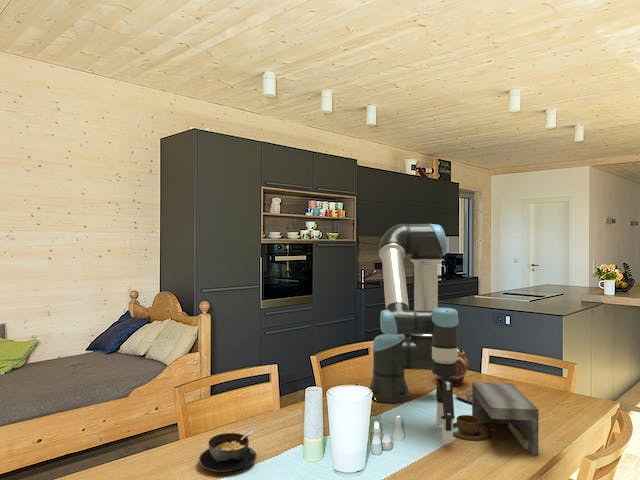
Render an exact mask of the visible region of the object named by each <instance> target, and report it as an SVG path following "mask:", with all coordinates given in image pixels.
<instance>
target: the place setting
mask: <svg viewBox="0 0 640 480" xmlns="http://www.w3.org/2000/svg"><path fill="white" fill-rule="evenodd" d="M436 425H437V426H440V424H437V423H436ZM455 429H458V430H459V431H460V432H461V433H462V434H460V433H457V432H455V431H453V437H455V438H458V439H461V440H466V441H467V440H468V441H481V440H485V439H487V438H488V437H489V435H490V433H491V434H493V435H494V438H495V439H498V437H497V430H496V429H494V428H491V429H490V430H489V429H488V428H487V427H486V426H483V424H481V420H480V419H479V418H478V417H475V416H472V414H471V415H470V414H462V415H458V416H457V417H456V422H453V430H455ZM479 431H481V432H483V433H484V435H478V436H475V435H476V433H478V432H479Z"/></svg>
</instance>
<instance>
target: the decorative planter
mask: <svg viewBox="0 0 640 480" xmlns="http://www.w3.org/2000/svg"><path fill="white" fill-rule="evenodd" d="M458 350H460V353H457V354H458V360H457V361H456V362H457V363H458V374H457V375H456V376H451V377H450V379H451V382H452V384H453V387H458V386H461V385H462V384H464V383H463V382H464V379H465V376H466V374H467V371H468V369H469V366H470V365H469V361H468V359H467V357H466V353H465V351H464V350H463V348H462V349H461V348H458ZM437 379H438V375H436V380H437Z"/></svg>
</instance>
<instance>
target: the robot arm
mask: <svg viewBox="0 0 640 480" xmlns="http://www.w3.org/2000/svg"><path fill="white" fill-rule="evenodd" d="M447 245H448V244H447V237H446V233H445V230H444V228H443V227H442V226H441V225H440V224H433V223H415V224H414V223H399V224H395V225H394V226H392V227H391V228H389V229H388V230H387V231H385V233H384V234H383V236H382V237H381V239H380V241H379V245H378V257H379V258H380V260H381V263H382V265H381V266H382V276H383V289H384V303H385V309H383V310H381V311H380V319H379V321H380V323H379V324H380V331H381V332H382V333H383V334H380V335H379V334H378V335H377V336H375V338H374V339H373V343H372V344H373V345H372V352H373V353H372V356H373V357H372V366H373V367H372V378H371V381H370V383H369V386H368V389H369V388H371V389H372V392H373V397H375V398H376V400H377V401H376V402H378V403H383V404H398V403H403V402H407V401H408V400H410V391H409V388H408V384H407V381H406V378H405V370H412V371H414V370H417V371H418V370H420V371H431V373H432V374H433V375H435V376H437V375H438V379H437V378H436V392H435V393H436V394H435V397H436V401H437V402H436V425H437V424H439V425H442V442H450V443H453V442H454V436H453V432H454V429H453V423H454V420H455V417H456V416H455V409H454V408H455V407H454V394H453V393H454V392H453V390H454V389H453V387H454V386H453V384H452V382H451V379H450V377H451V376H456V375H457V374H458V363H457V362H456V361H457V360H458V354H457V353H460V350H458V349H459V321H460V320H459V316H458V315H459V313H458V310H457V309H455V308H451V307H439V305H438V302H439V301H438V300H439V299H438V297H439V296H438V295H439V294H438V291H439V290H438V286H439V278H438V277H439V276H438V275H439V273H438V270H439V269H438V265H439V263H441V262H442V260H443V257H444V256H445V255H446V254H447V253H448V252H447V247H448V246H447ZM406 256H409V257H410V258H409V261H410V262H412V263H413V266H414V267H413V268H414V272H413V273H414V283H413V284H414V285H413V286H414V288H413V293H414V295H413V297H414V298H413V299H414V301H413V304H414V305H413V308H414V310H413V309H412V310H411V309H410V308H409V298H408V297H409V296H408V289H407V288H408V287H407V280H406V273H405V264H404V262H405V261H404V258H405V257H406ZM406 335H409V337H406Z"/></svg>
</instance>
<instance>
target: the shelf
mask: <svg viewBox="0 0 640 480" xmlns="http://www.w3.org/2000/svg"><path fill="white" fill-rule="evenodd" d="M471 385H472V387H471V389H472V404H471V407H472V408H471V416H475V417H478V418H479V419H480V420H481V423H485V424H507V425H508V429H509V431H510V432H511V433H512V435H513V436H514V437H515V439H516V440H517V441H518V442H519V444H520V446H521V447H522V448H523V449H524V450H528V452H530V454H531V455H532V456H537V457H538V456H539V424H540V423H539V420H540V419H539V417H540V415H539V413H540V412H539V408H538V407H537V406H536V405H534V403H533V402H532V401H531V400H530V399H529V398H528V397H527V396H525V394H524V393H522V391H521V390H519V389H518V388H517V387H516V386H515V384H514V383H511V382H487V381H486V382H485V381H484V382H480V381H472V382H471Z"/></svg>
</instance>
